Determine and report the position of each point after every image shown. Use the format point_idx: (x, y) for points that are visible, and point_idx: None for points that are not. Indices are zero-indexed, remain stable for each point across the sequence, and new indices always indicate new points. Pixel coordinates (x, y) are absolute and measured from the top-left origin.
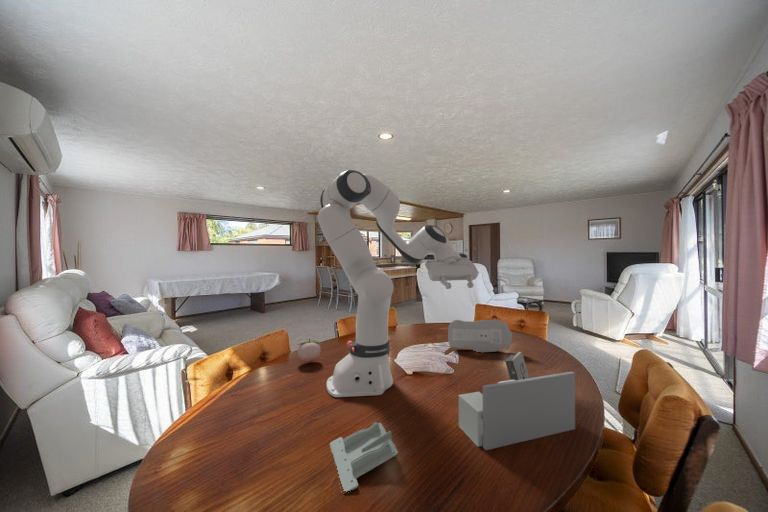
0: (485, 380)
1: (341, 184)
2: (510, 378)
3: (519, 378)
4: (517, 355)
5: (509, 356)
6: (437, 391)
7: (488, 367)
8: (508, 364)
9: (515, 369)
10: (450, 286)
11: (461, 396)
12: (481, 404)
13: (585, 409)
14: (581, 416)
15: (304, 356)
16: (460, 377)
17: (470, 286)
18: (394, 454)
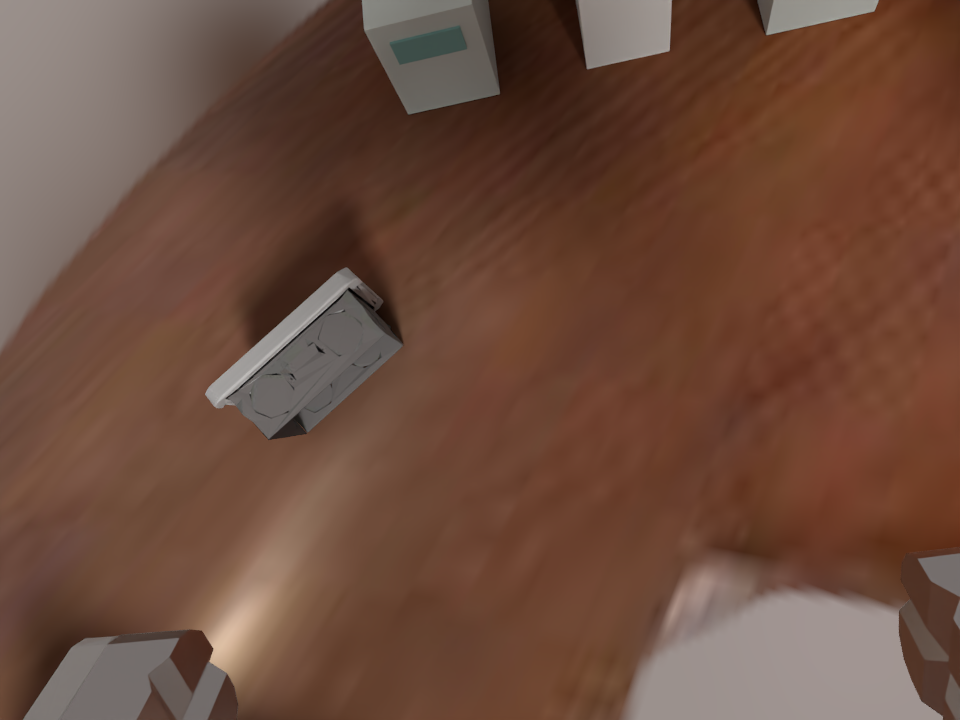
0: (525, 414)
1: None
2: (398, 341)
3: (370, 290)
4: (283, 324)
5: (301, 409)
6: (893, 318)
7: (395, 606)
8: (378, 322)
9: (360, 300)
10: (945, 552)
11: None
12: None
13: (261, 102)
14: (319, 60)
15: None
16: (668, 483)
17: (194, 653)
18: None
